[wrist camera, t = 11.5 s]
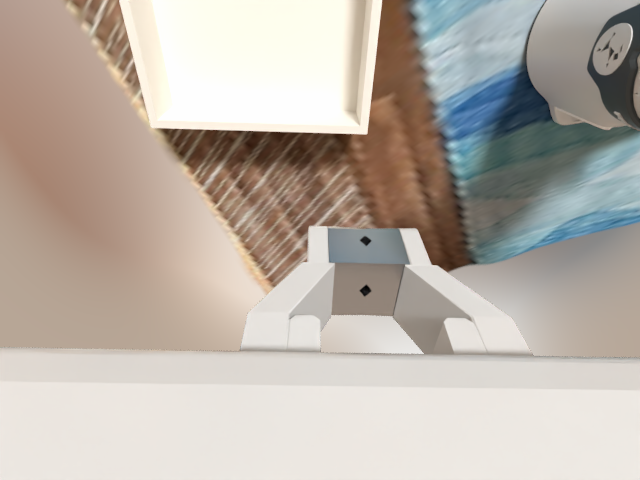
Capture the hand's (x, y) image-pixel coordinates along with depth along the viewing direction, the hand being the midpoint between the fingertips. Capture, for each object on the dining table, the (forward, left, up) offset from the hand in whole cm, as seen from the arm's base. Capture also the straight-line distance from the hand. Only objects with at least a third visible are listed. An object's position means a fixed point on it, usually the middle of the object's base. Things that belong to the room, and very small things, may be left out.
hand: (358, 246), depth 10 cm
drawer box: (+7, -2, -35) cm, 36 cm away
